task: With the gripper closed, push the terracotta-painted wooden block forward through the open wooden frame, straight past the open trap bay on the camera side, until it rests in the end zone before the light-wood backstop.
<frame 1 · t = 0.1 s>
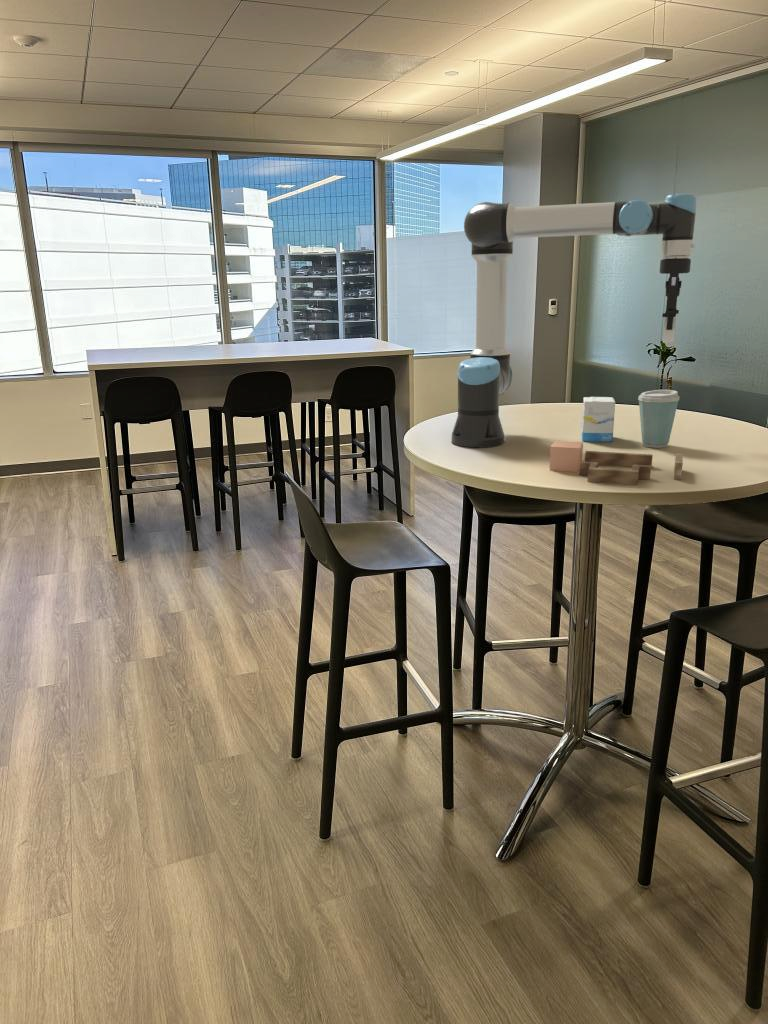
hand: (668, 340, 203), 28 cm above the table, fingers open, 13 cm apart
ink box: (596, 439, 217), on the table
open wooden frame: (616, 470, 182), on the table
disposable coffee cup: (654, 446, 207), on the table
block: (565, 467, 186), on the table
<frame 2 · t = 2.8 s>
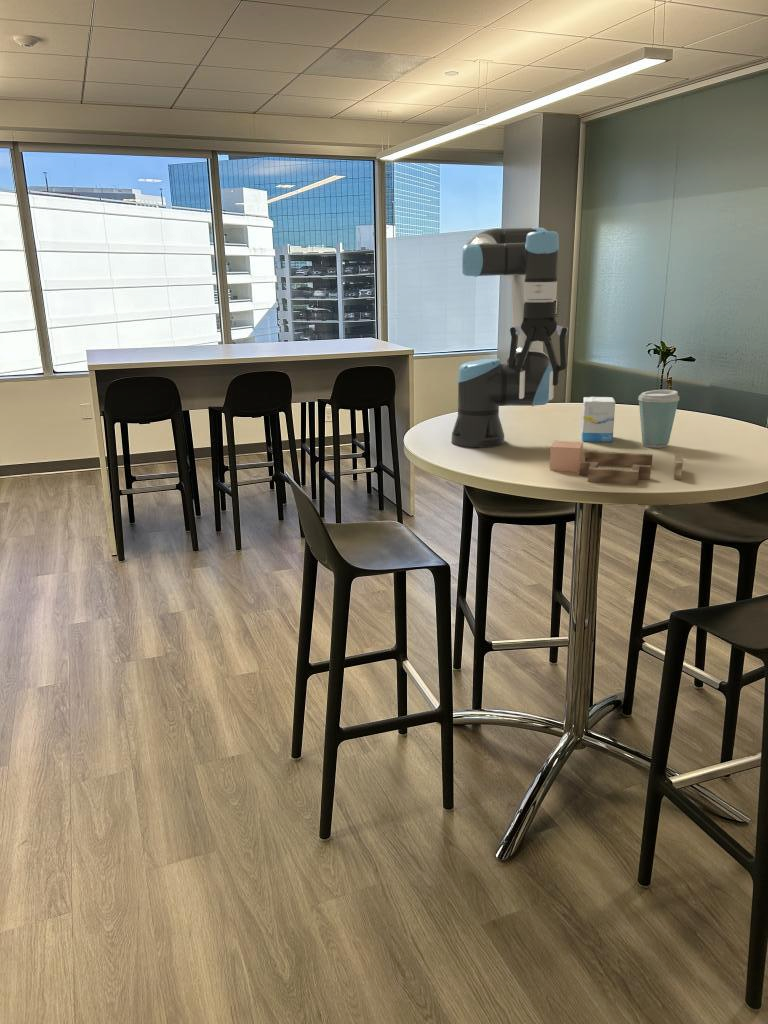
hand: (536, 398, 184), 17 cm above the table, fingers open, 6 cm apart
nothing on the table moved.
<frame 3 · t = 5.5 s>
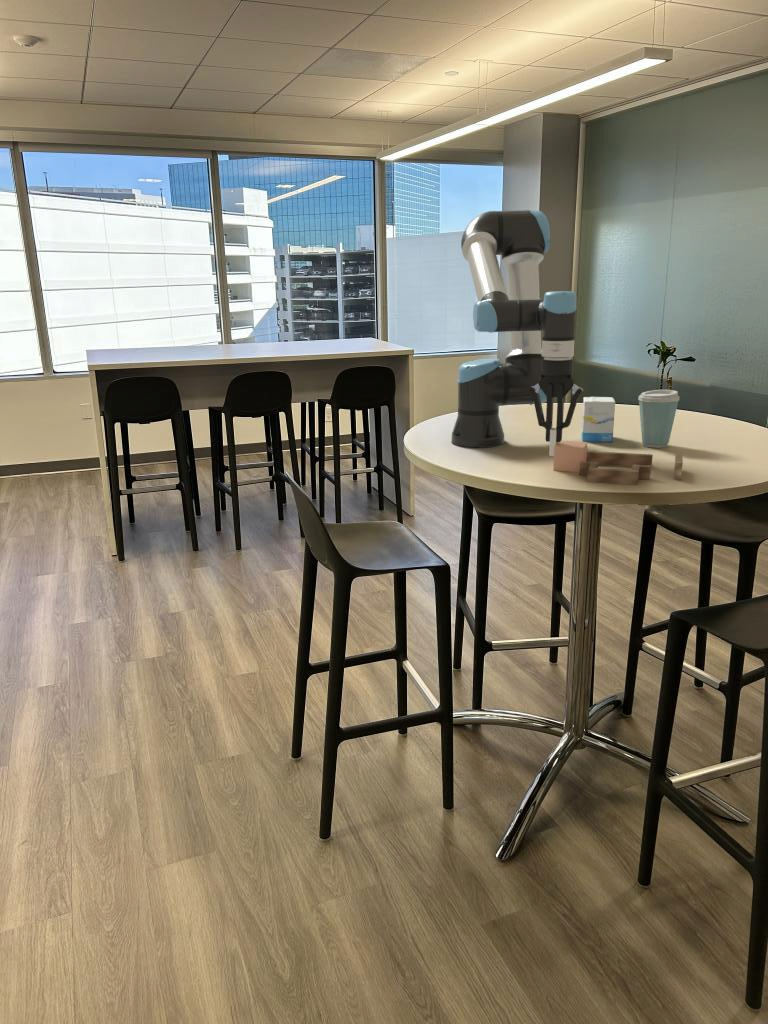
hand: (552, 454, 186), 3 cm above the table, fingers closed
block: (569, 467, 186), on the table, touching gripper
everything else where it was.
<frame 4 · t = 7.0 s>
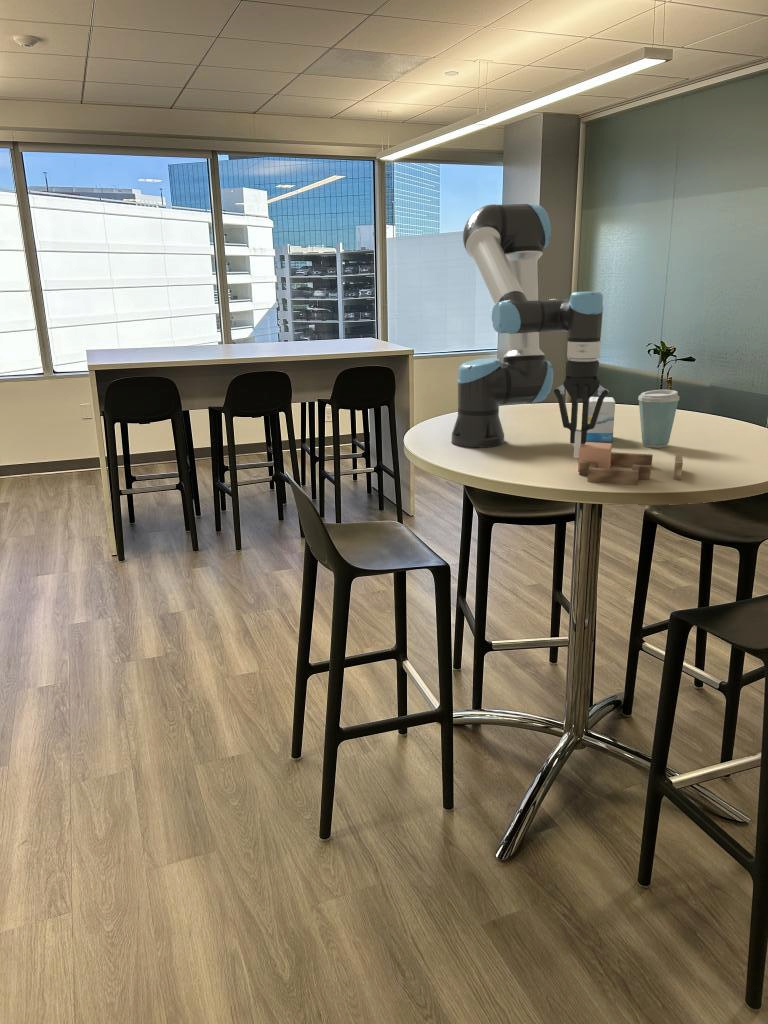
hand: (577, 456, 184), 3 cm above the table, fingers closed
block: (594, 469, 184), on the table, touching gripper
everything else where it was.
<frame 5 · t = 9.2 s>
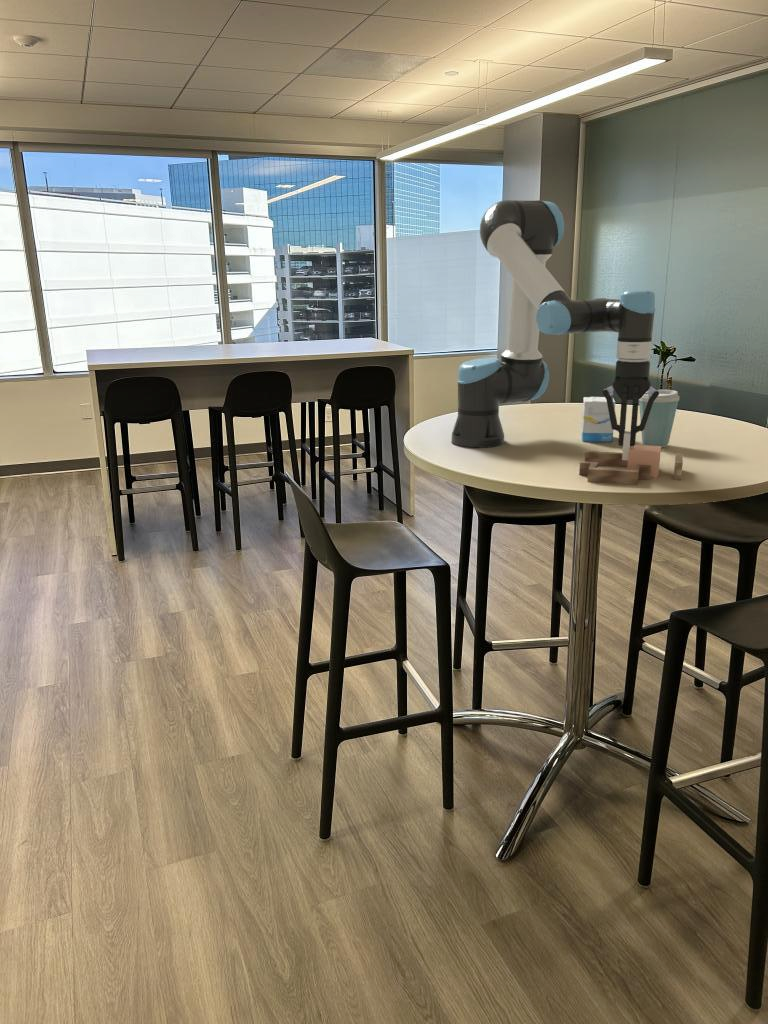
hand: (625, 458, 180), 3 cm above the table, fingers closed
block: (642, 472, 180), on the table, touching gripper
everything else where it was.
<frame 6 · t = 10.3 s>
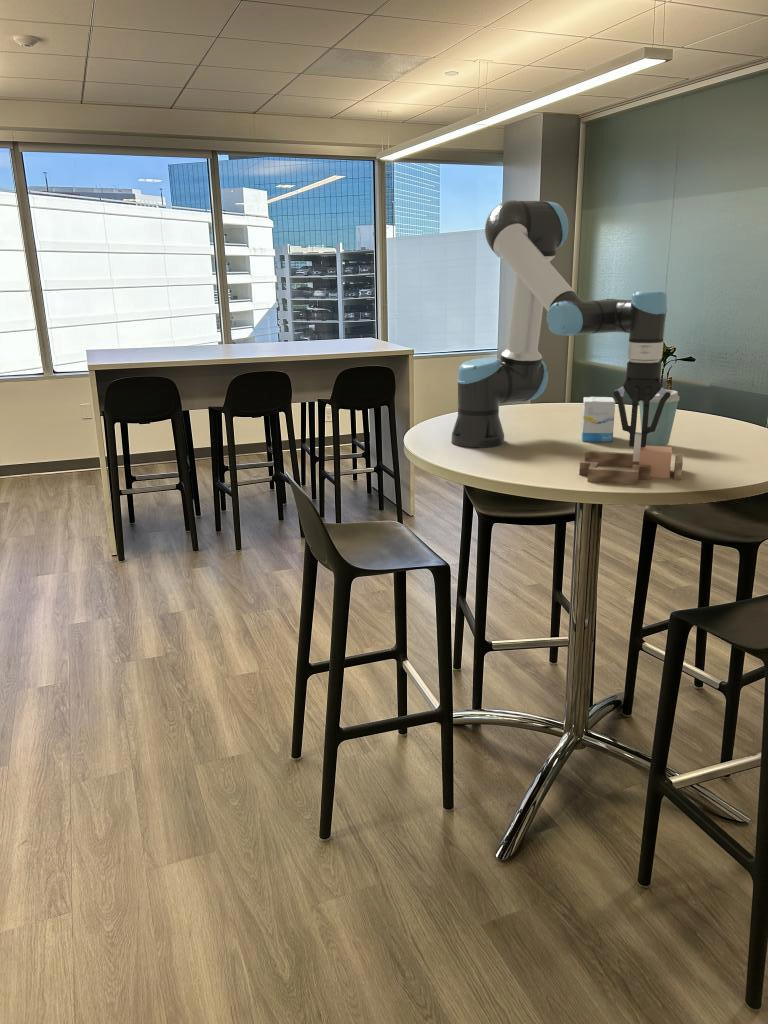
hand: (636, 460, 180), 3 cm above the table, fingers closed
block: (653, 473, 179), on the table
everything else where it was.
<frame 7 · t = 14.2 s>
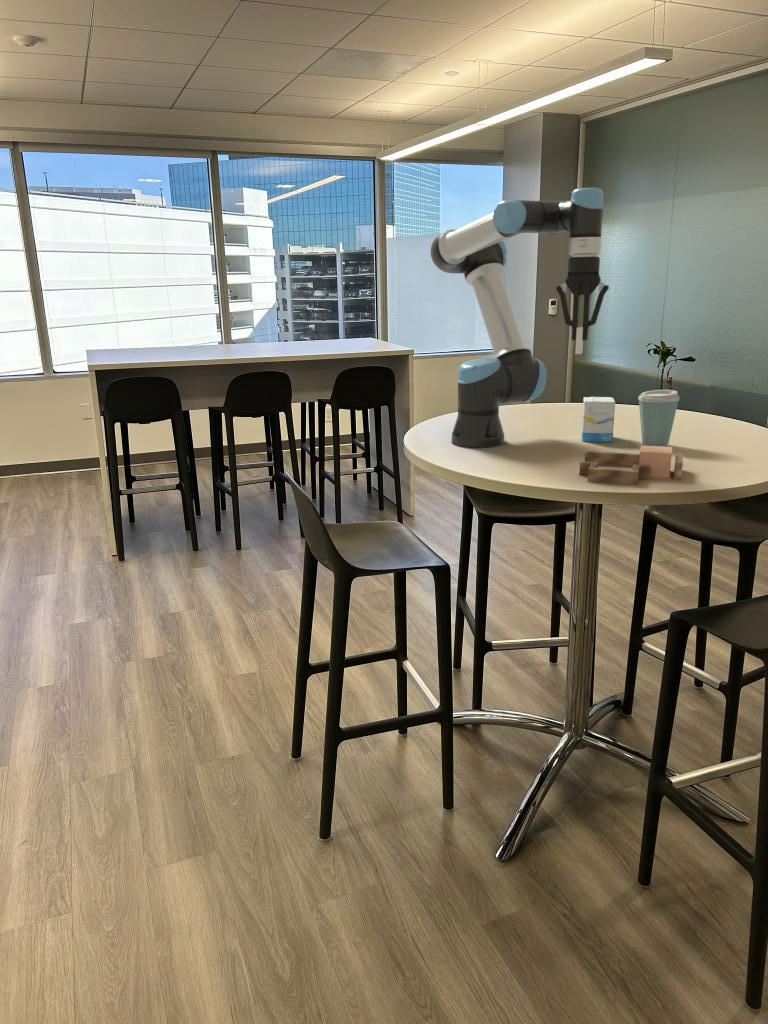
hand: (578, 353, 192), 26 cm above the table, fingers closed
nothing on the table moved.
at the end: block inside the target area (1.3 cm from its centre), on the table; block inside the target area on the open wooden frame (11.6 cm from its centre), point 0.0 cm above the open wooden frame's base; block tilted 0° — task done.
